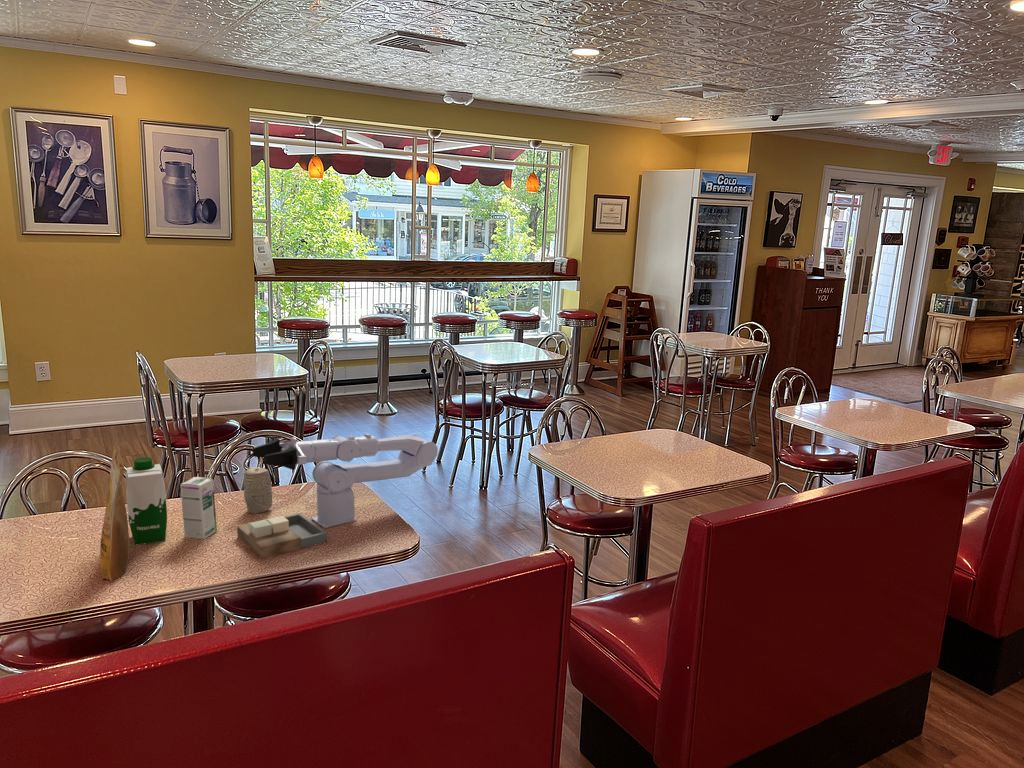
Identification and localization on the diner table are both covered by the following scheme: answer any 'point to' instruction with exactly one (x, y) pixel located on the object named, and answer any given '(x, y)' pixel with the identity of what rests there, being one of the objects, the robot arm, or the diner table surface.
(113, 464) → the pancake mix bag
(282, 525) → the tile
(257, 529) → the tile
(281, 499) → the diner table surface
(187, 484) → the syrup box
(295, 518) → the box
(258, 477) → the carving
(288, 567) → the diner table surface
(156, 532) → the milk carton
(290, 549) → the board
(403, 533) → the diner table surface
